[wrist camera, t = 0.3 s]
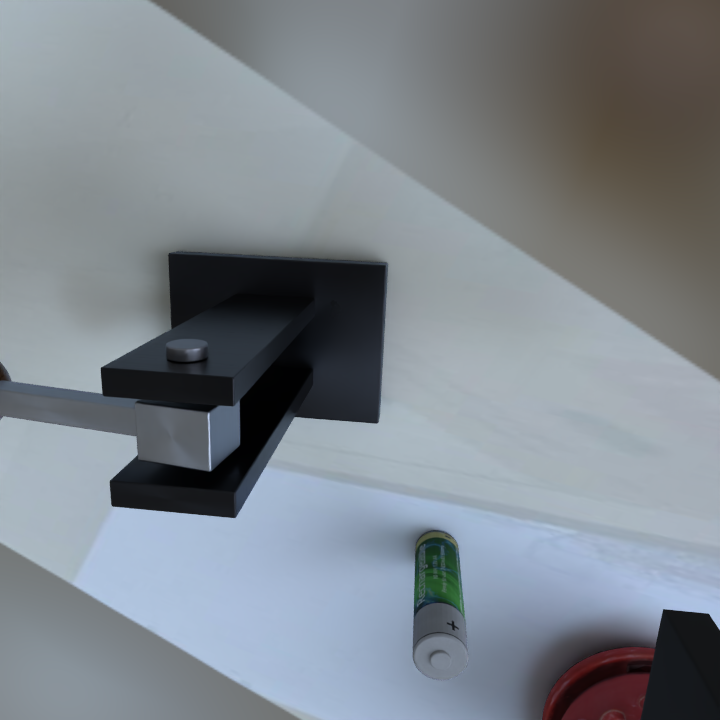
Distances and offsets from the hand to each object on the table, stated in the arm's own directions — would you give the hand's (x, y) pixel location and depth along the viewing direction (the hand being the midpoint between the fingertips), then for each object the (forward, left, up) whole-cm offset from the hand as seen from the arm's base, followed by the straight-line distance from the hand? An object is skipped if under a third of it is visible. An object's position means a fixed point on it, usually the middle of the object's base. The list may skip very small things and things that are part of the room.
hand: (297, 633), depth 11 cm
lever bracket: (0, -6, -24) cm, 25 cm away
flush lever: (0, -11, -12) cm, 17 cm away
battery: (+13, +4, -24) cm, 28 cm away
